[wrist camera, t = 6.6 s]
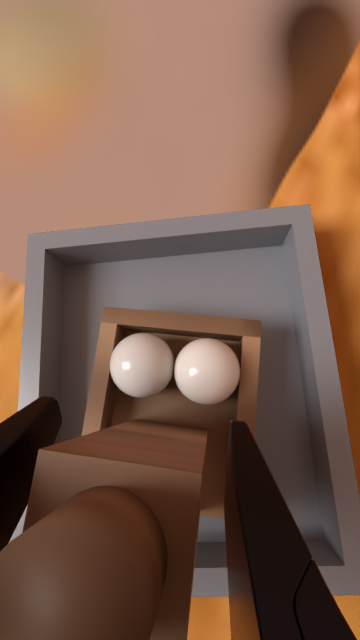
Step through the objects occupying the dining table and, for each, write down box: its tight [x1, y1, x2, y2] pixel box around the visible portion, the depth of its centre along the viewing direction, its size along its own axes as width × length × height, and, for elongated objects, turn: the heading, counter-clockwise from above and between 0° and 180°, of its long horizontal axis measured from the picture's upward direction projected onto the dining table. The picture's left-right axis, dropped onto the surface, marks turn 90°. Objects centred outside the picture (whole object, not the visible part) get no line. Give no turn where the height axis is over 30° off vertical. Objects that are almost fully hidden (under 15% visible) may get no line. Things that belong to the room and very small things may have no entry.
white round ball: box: [110, 333, 175, 398], centre depth 15 cm, size 3×3×3 cm
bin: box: [11, 204, 360, 597], centre depth 16 cm, size 17×15×3 cm
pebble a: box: [174, 338, 240, 405], centre depth 15 cm, size 3×3×3 cm
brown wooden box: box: [0, 307, 262, 640], centre depth 11 cm, size 9×8×12 cm
